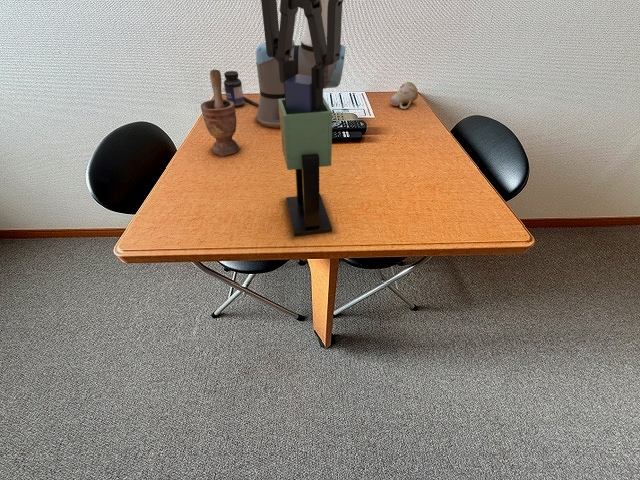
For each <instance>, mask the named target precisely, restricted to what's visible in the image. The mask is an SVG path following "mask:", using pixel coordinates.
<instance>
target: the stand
mask: <svg viewBox="0 0 640 480" xmlns="http://www.w3.org/2000/svg"><path fill="white" fill-rule="evenodd" d="M295 187H296V196H287V197H285V203H286V206H287V211H288V215H289V220H290V226H291V230H292V234H293V237H300V236H309V235H317V234H325V233H332V232H333V226H332V224H331V221H330V218H329V215H328V212H327V209H326V207H325V204H324V201H323V199H322V196H321V194H320V167H319V155H318V154H310V155H302V169H295Z"/></svg>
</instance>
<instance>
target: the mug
mask: <svg viewBox="0 0 640 480" xmlns="http://www.w3.org/2000/svg"><path fill="white" fill-rule="evenodd" d="M418 96H419V90H418V88H417V86H416V84H415V83H413V82H411V81H406V82H404V83H403V84H401V85H400V87H399V89H398V90H397V92H395V93H394V94H393V95H392V96H391V98H390V103H391V105H392V106H394V107H399V109H401V110H406V109H408V108H409V107H410V106H411V104H412V103H414V102H415V101H416V100H417V99H418ZM404 104H407V105H406V106H404Z"/></svg>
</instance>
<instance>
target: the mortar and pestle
mask: <svg viewBox="0 0 640 480" xmlns="http://www.w3.org/2000/svg"><path fill="white" fill-rule="evenodd" d="M209 77H210V78H209V79H210V85H211V89H212V92H213V98H214V99H210V100H206V101H204V102H202V103H201V104H200V109H201V112H202V117H203V121H204V125H205V127H206V129H207V131H208V133H209V135H210V136H211V137H213V138H214V139H215V142H214V143H213V145H212V152H213V153H214V154H215V155H218V156H220V157H225V156H229V155H232V154H233V155H234V154H236V153H238V151H239V150H240V147H239V145H238V143H237V142H236V141H235V139H233V137H234V135H235V133H236V132H237V131H236V130H237V115H236V107H235V105H234V102H233V101H230V100H227V99H226V98H223V95H222V73H221V71H220V70H218V69H211V70H210V71H209Z"/></svg>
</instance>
